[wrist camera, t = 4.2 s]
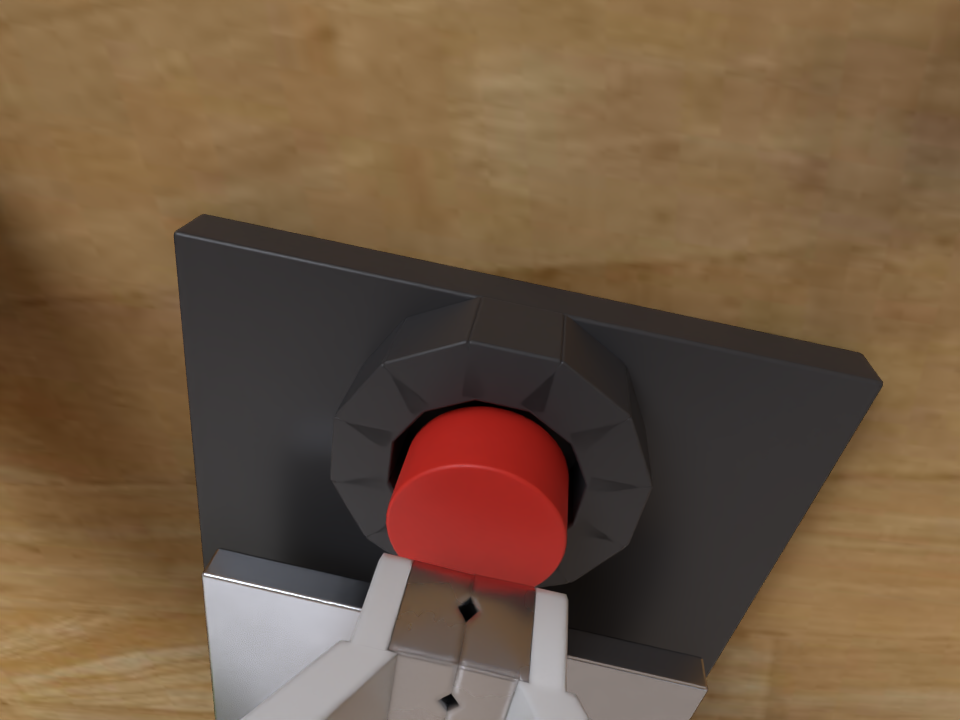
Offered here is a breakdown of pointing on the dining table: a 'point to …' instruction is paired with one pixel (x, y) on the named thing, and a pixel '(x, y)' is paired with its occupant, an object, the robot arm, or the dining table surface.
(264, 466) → the scale
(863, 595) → the dining table surface
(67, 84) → the dining table surface
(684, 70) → the dining table surface
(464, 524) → the button
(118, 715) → the dining table surface
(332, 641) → the scale platter
